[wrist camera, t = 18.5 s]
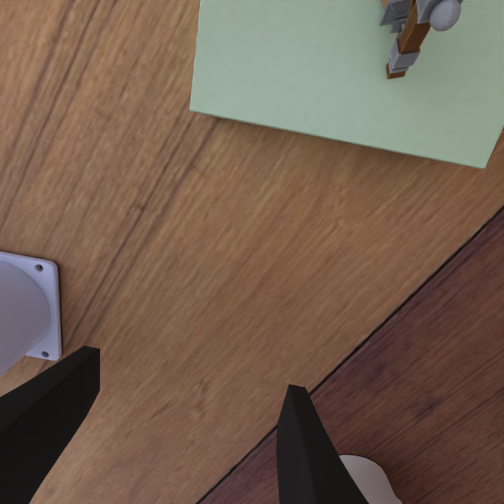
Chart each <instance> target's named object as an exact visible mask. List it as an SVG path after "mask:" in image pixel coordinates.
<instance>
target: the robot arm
mask: <svg viewBox="0 0 504 504" xmlns="http://www.w3.org/2000/svg"><path fill="white" fill-rule="evenodd" d="M39 265H41V266H42V267H43V269H41V268H40V266H39ZM24 355H26V356H31V357H37V358H42V359H47V360H53V361H56V360H58V359H59V358H60V357H61V355H62V348H61V327H60V305H59V284H58V268H57V265H56V264H55V263H54V262H52V261H49V260H44V259H39V258H33V257H28V256H23V255H18V254H12V253H7V252H2V251H0V377H1V376H2V375H3V374H4V373H5V372H6V371H7V370H9V369H10V368H11V367H12V366H13V365H14V364H15V363H16V362H17V361H18V360H20V359H21V358H22V357H23V356H24ZM99 391H100V349H98V348H93V347H88V346H83V347H81V348H80V349H78V350H77V351H75V352H73V353H72V354H70V355H69V356H67V357H66V358H64V359H62V360H61V361H59V362H58V363H56V364H55V365H53V366H52V367H50V368H48V369H47V370H45V371H44V372H42V373H40V374H39V375H37V376H36V377H34V378H32V379H31V380H29V381H27V382H26V383H24V384H22V385H21V386H19V387H17V388H15V389H14V390H12V391H10V392H8V393H7V394H5V395H3V396H2V397H0V504H29V503H30V501H31V499H32V498H33V496H34V494H35V493H36V491H37V489H38V488H39V486H40V485H41V483H42V481H43V480H44V478H45V477H46V476H47V474H48V473H49V471H50V470H51V468H52V467H53V465H54V464H55V462H56V461H57V459H58V458H59V456H60V455H61V453H62V452H63V450H64V449H65V448H66V446H67V445H68V443H69V442H70V440H71V439H72V437H73V436H74V434H75V433H76V431H77V430H78V428H79V427H80V425H81V424H82V422H83V421H84V419H85V418H86V416H87V414H88V412H89V410H90V408H91V407H92V405H93V403H94V401H95V399H96V397H97V395H98V393H99ZM276 454H277V470H278V485H279V500H280V504H369V503H368V501H367V500H366V498H365V497H364V495H363V494H362V492H361V491H360V489H359V488H358V486H357V485H356V483H355V482H354V480H353V478H352V477H351V475H350V474H349V472H348V470H347V469H346V467H345V465H344V464H343V462H342V460H341V458H340V457H339V455H338V453H337V451H336V450H335V448H334V446H333V444H332V442H331V440H330V438H329V436H328V434H327V433H326V431H325V429H324V427H323V425H322V423H321V421H320V418H319V416H318V414H317V412H316V410H315V408H314V406H313V403H312V401H311V399H310V396H309V394H308V392H307V390H306V388H305V387H301V386H296V385H291V384H289V386H288V389H287V393H286V396H285V399H284V403H283V406H282V410H281V413H280V417H279V420H278V424H277V451H276Z"/></svg>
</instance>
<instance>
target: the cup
mask: <svg viewBox="0 0 504 504" xmlns="http://www.w3.org/2000/svg"><path fill="white" fill-rule="evenodd" d="M339 457H340V458H341V460H342V462H343V464H344V465H345V467H346V469H347V470H348V472H349V474H350V475H351V477H352V478H353V480H354V482H355V483H356V485H357V486H358V488H359V489H360V491H361V492H362V494H363V495H364V497H365V498H366V500H367V501H368V503H369V504H402V502H401V501H400V500H399V499H398V498H397V497H396V496H395V494H394V492H393V490H392V488H391V485H390V483H389V481H388V479H387V476H386V474H385V473H384V471H383V469H382V468H381V467H380V466H379V465H377V464H376V463H375V462H373V461H371V460H369V459H367V458H363V457H359V456H354V455H340V456H339Z"/></svg>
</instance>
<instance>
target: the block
mask: <svg viewBox="0 0 504 504" xmlns="http://www.w3.org/2000/svg"><path fill="white" fill-rule="evenodd" d="M460 6H461V13H460V16H459V19H458V21H457V22H456V23H455V24H454V26H453V27H451V28H450V29H448V30H446V31H435V30H434V29H433V28H432V26H431V28H430V30H429V32H428V33H427V35H426V37H425V39H424V41H423V42H422V44H421V46H420V50H421V52H420V54H419V56H418V57H417V59H416V61H415V63H414V64H413V66H409V70H408V71H406V74H405V76H404V77H400V78H393V79H387V73H386V65H387V63H388V59H389V57H390V50H391V48H392V46H393V44H394V41H395V39H396V36H397V35H398V33H391V34H390V31H391V29H392V27H391V26H392V24H390V25H384V26H379V23H380V20H381V18H382V15H383V8H382V3H381V0H200V10H199V19H198V29H197V39H196V49H195V59H194V69H193V79H192V89H191V99H190V111H191V112H195V113H199V114H203V115H207V116H212V117H218V118H223V119H228V120H233V121H238V122H243V123H248V124H253V125H258V126H263V127H268V128H273V129H278V130H283V131H289V132H294V133H299V134H304V135H309V136H314V137H319V138H324V139H329V140H334V141H339V142H344V143H349V144H354V145H360V146H365V147H370V148H375V149H380V150H385V151H390V152H395V153H400V154H405V155H410V156H415V157H420V158H425V159H431V160H436V161H441V162H446V163H452V164H457V165H463V166H469V167H474V168H480V169H484V168H485V167H486V165H487V163H488V161H489V158H490V156H491V154H492V152H493V149H494V147H495V145H496V142H497V140H498V138H499V136H500V133H501V131H502V129H503V127H504V0H463V2H462V3H461V5H460ZM400 33H402V32H400Z"/></svg>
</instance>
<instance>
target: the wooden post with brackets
mask: <svg viewBox="0 0 504 504" xmlns="http://www.w3.org/2000/svg"><path fill="white" fill-rule="evenodd" d="M462 2H463V0H381V3H382V8H383V15H382V18H381V20H380V23H379V26H384V25H390V24H392V26H391V27H392V29H391V31H390V34H391V33H398V35H397V36H396V39H395V41H394V44H393V46H392V48H391V50H390V57H389V59H388V63H387V65H386V73H387V79H393V78H400V77H404V76H405V74H406V71H408V70H409V66H413V64H414V63H415V61H416V59H417V57H418V56H419V54H420V52H421V50H420V46H421V44H422V42H423V41H424V39H425V37H426V35H427V33H428V32H429V30H430V28H431V26H432V28H433V29H434V30H435V31H446V30H448V29H450V28H451V27H453V26H454V24H455V23H456V22H457V21H458V19H459V16H460V13H461V6H460V5H461V3H462ZM400 32H402V33H400Z"/></svg>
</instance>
